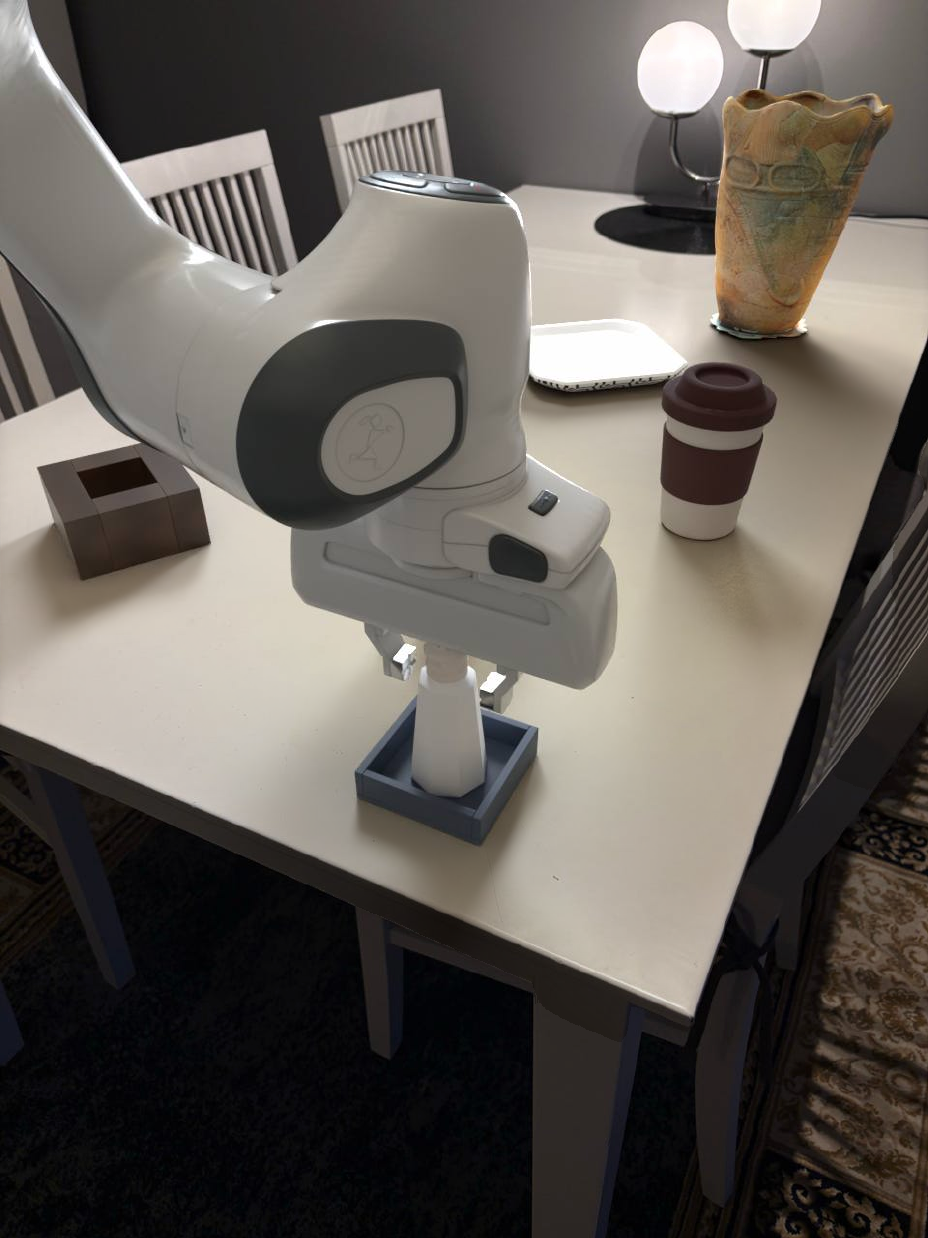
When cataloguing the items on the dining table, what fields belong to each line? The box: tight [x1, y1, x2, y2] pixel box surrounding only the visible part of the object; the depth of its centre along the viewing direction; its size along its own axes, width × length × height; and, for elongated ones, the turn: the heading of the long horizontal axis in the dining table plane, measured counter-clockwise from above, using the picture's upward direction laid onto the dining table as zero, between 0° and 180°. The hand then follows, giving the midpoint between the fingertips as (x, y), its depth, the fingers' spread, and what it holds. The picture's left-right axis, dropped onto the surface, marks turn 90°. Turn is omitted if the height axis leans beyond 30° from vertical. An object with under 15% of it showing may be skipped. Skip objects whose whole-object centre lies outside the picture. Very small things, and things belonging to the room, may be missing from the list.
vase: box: [709, 88, 895, 339], centre depth 124 cm, size 21×20×30 cm
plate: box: [529, 318, 688, 393], centre depth 121 cm, size 21×21×2 cm
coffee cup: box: [659, 361, 778, 541], centre depth 84 cm, size 10×10×15 cm
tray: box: [354, 694, 540, 847], centre depth 62 cm, size 9×9×2 cm
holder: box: [36, 442, 212, 581], centre depth 86 cm, size 12×12×6 cm
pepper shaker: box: [411, 642, 487, 797], centre depth 59 cm, size 5×5×11 cm
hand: (447, 688), depth 58 cm, fingers open, 5 cm apart
